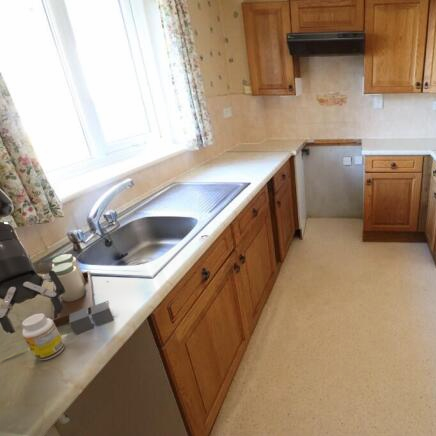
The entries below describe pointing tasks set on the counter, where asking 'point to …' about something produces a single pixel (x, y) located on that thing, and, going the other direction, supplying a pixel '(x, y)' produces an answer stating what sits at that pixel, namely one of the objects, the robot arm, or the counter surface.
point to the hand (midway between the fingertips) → (36, 322)
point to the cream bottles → (69, 277)
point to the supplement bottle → (42, 336)
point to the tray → (74, 302)
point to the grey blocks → (84, 319)
